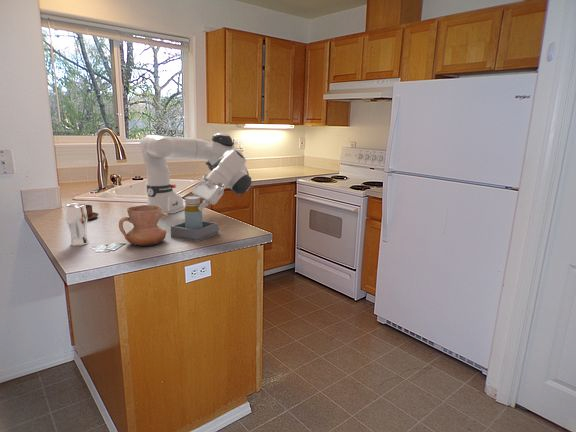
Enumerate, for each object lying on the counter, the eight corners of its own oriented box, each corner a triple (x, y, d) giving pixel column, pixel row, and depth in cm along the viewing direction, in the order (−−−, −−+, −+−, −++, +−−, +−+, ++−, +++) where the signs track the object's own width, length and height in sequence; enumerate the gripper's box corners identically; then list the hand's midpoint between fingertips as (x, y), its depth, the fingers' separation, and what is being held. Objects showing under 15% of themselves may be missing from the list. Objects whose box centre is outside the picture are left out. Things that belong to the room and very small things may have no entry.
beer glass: (66, 244, 147) (61, 205, 143) (84, 239, 152) (79, 202, 149) (75, 247, 143) (71, 208, 139) (93, 242, 148) (89, 205, 145)
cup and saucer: (68, 218, 185) (66, 205, 184) (95, 214, 192) (93, 202, 191) (73, 223, 176) (72, 210, 175) (101, 219, 183) (100, 207, 182)
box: (193, 229, 170) (193, 219, 169) (218, 233, 164) (217, 223, 163) (171, 236, 158) (170, 226, 157) (196, 241, 152) (196, 230, 151)
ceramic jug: (164, 235, 160) (162, 202, 156) (173, 245, 148) (171, 209, 144) (118, 241, 151) (114, 206, 148) (123, 252, 139) (119, 214, 135)
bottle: (195, 229, 165) (194, 195, 162) (206, 232, 161) (205, 197, 157) (182, 232, 160) (180, 197, 156) (192, 236, 156) (190, 199, 152)
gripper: (231, 190, 154) (209, 217, 151) (212, 183, 171) (192, 207, 168) (221, 180, 151) (197, 207, 148) (202, 174, 167) (181, 198, 165)
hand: (194, 207), depth 158 cm, fingers open, 8 cm apart
